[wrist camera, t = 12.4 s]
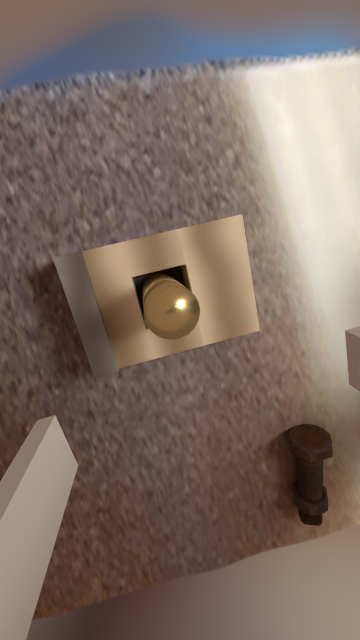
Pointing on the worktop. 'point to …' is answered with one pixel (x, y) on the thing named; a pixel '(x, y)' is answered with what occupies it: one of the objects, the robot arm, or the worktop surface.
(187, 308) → the brass cylinder
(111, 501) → the worktop surface
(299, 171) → the worktop surface
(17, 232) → the worktop surface
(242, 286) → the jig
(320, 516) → the bolt
